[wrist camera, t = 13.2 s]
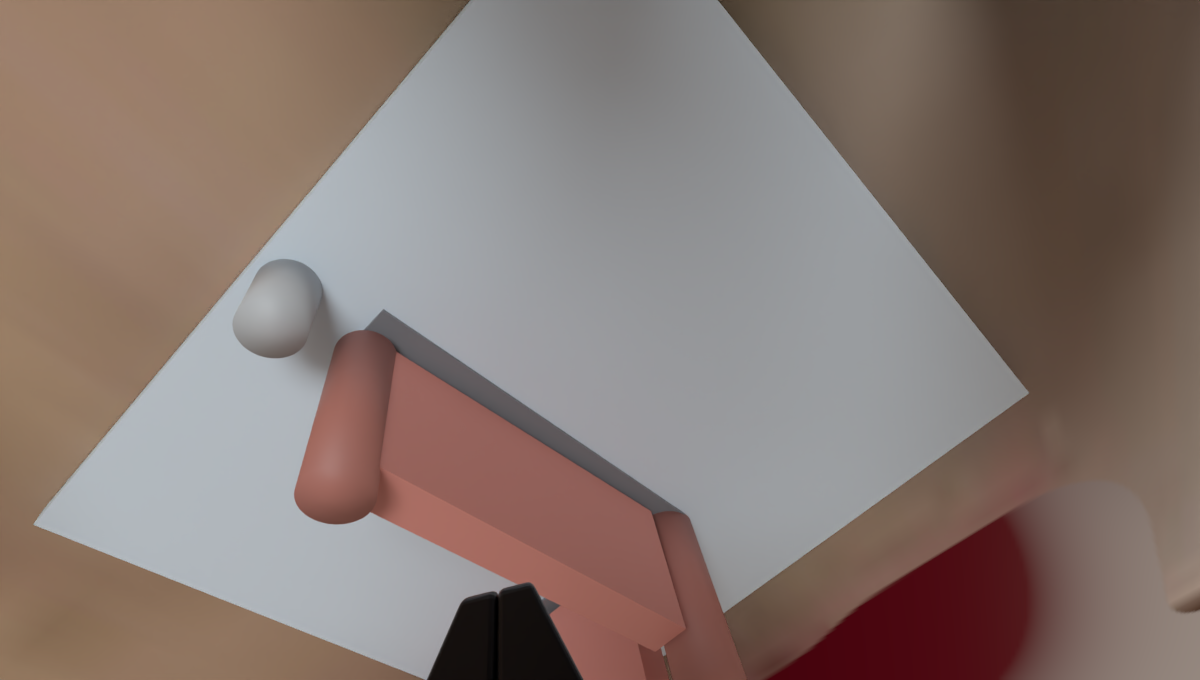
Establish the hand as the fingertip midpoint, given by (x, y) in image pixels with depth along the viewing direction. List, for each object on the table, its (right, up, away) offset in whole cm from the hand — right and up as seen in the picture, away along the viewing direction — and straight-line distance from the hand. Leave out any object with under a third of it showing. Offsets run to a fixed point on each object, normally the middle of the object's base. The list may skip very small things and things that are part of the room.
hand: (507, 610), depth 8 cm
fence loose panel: (-2, 0, +13) cm, 13 cm away
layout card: (0, 0, +14) cm, 14 cm away
